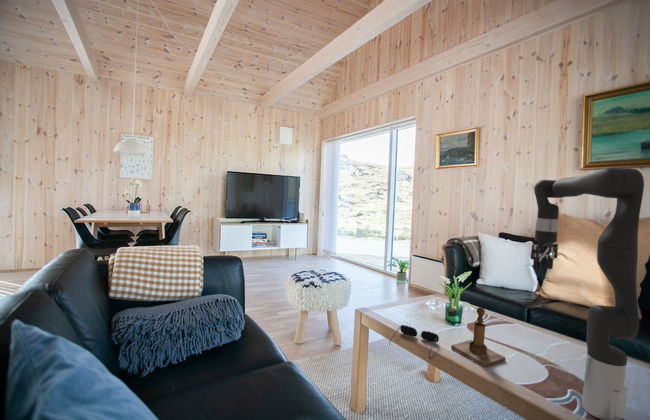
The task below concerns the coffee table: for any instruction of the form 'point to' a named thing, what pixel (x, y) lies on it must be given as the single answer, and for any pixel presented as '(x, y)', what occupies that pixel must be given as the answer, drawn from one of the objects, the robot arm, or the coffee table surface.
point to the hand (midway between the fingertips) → (543, 269)
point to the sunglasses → (424, 334)
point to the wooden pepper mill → (479, 335)
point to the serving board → (483, 360)
